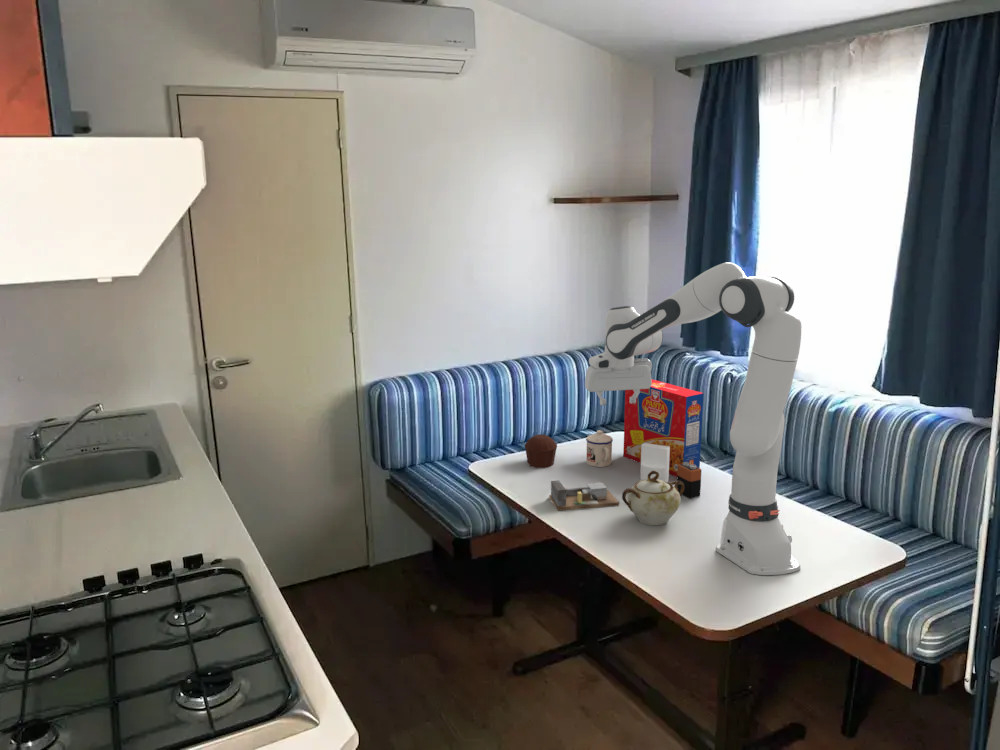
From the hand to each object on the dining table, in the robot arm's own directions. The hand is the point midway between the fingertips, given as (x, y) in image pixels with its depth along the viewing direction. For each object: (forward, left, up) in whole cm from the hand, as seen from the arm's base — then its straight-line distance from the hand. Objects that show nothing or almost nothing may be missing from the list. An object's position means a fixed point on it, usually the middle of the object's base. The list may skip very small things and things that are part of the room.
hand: (617, 404), depth 245 cm
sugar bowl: (-21, -4, -29) cm, 36 cm away
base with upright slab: (+8, -16, -29) cm, 34 cm away
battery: (-5, -22, -29) cm, 37 cm away
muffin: (+32, +16, -29) cm, 46 cm away
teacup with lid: (+27, -4, -29) cm, 40 cm away
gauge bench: (-4, +11, -29) cm, 32 cm away
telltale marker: (-8, +14, -27) cm, 32 cm away
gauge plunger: (-5, +8, -28) cm, 30 cm away
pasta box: (+22, -24, -29) cm, 44 cm away
